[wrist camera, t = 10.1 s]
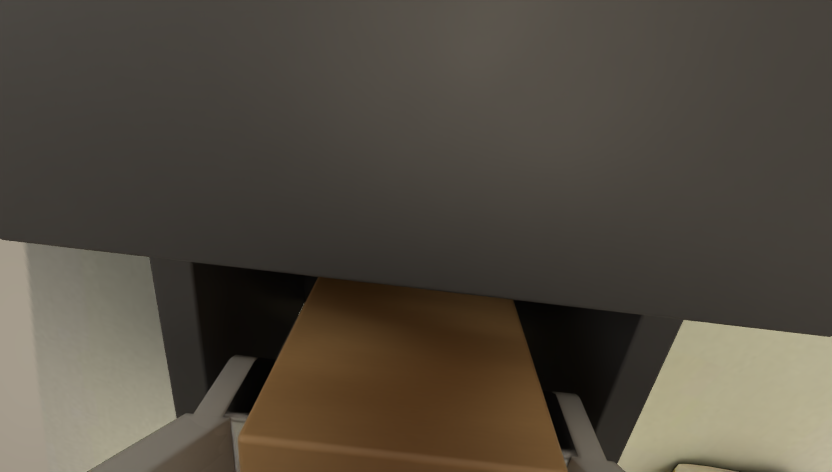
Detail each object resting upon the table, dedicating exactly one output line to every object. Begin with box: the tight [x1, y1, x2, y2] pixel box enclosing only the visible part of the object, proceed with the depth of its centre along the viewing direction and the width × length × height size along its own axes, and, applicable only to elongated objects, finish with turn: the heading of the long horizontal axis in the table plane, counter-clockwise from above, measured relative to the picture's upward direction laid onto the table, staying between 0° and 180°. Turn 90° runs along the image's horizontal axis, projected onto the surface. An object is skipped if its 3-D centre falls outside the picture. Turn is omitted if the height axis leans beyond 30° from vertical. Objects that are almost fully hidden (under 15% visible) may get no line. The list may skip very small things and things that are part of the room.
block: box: [238, 277, 568, 472], centre depth 9 cm, size 4×4×5 cm
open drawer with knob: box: [149, 257, 683, 464], centre depth 12 cm, size 15×12×9 cm
